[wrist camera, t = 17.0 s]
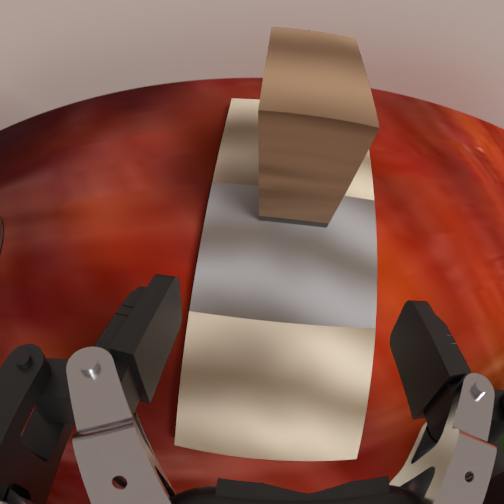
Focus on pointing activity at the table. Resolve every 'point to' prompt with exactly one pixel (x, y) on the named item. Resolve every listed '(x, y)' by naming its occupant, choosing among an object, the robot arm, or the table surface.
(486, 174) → the table surface
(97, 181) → the table surface
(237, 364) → the board
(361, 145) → the block
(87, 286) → the table surface
